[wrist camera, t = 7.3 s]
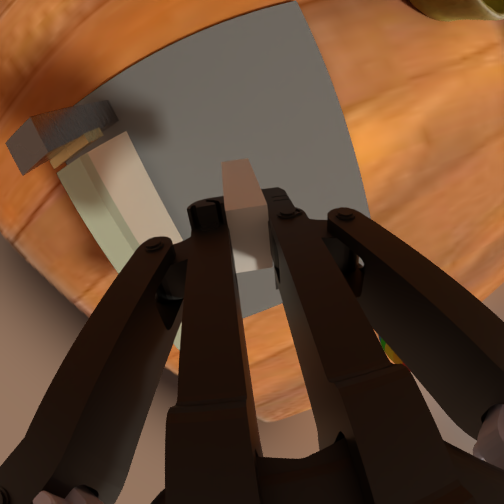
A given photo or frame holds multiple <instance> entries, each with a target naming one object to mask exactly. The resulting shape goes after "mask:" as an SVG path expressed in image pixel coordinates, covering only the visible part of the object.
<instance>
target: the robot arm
mask: <svg viewBox="0 0 504 504" xmlns="http://www.w3.org/2000/svg"><path fill="white" fill-rule="evenodd" d="M221 166H222V181H223V195H224V196H219V197H213V198H207V199H203V200H199V201H196V202H194V203H192V204H191V205H189V206H188V208H187V213H188V217H189V221H190V226H191V237H189V238H188V239H186V240H184V241H181V242H179V243H176V244H173V242H172V240H171V238H168V237H164V236H160V237H152V238H150V239H148V240H147V241H145V242H143V243H142V244H141V245H140V246H139V247H138V248H137V250H136V251H135V252H134V254H133V255H132V256H131V258H130V259H129V260H128V262H127V263H126V265H125V266H124V267H123V269H122V270H121V272H120V273H119V274H118V276H117V277H116V279H115V280H114V281H113V283H112V284H111V286H110V287H109V289H108V290H107V292H106V293H105V295H104V296H103V298H102V299H101V301H100V302H99V304H98V305H97V307H96V308H95V310H94V311H93V313H92V314H91V316H90V318H89V319H88V321H87V322H86V324H85V325H84V327H83V329H82V330H81V332H80V333H79V335H78V337H77V338H76V340H75V342H74V343H73V345H72V347H71V348H70V350H69V352H68V354H67V355H66V357H65V359H64V360H63V362H62V364H61V366H60V368H59V369H58V371H57V373H56V375H55V377H54V379H53V380H52V383H51V384H50V386H49V388H48V390H47V392H46V394H45V396H44V398H43V399H42V401H41V404H40V405H39V408H38V410H37V412H36V414H35V416H34V418H33V420H32V422H31V424H30V426H29V429H28V431H27V433H26V435H25V438H24V439H23V440H22V441H21V442H20V444H19V445H18V446H17V447H16V448H15V449H14V451H13V452H12V453H11V454H10V456H9V457H8V458H7V459H6V460H5V461H4V463H3V464H2V465H1V466H0V504H114V503H115V502H116V500H117V498H118V496H119V494H120V492H121V490H122V488H123V486H124V483H125V480H126V477H127V475H128V472H129V469H130V465H131V462H132V459H133V456H134V453H135V450H136V446H137V444H138V441H139V438H140V435H141V432H142V429H143V426H144V423H145V420H146V417H147V414H148V411H149V408H150V406H151V403H152V400H153V397H154V394H155V391H156V388H157V386H158V383H159V380H160V377H161V375H162V372H163V369H164V367H165V364H166V361H167V359H168V356H169V353H170V351H171V348H172V345H173V343H174V340H175V337H176V335H177V332H178V330H179V327H180V324H181V322H182V326H181V340H180V355H179V374H178V397H177V403H176V405H175V406H173V407H170V409H169V411H168V413H167V420H166V438H165V489H164V490H163V491H161V492H160V493H159V495H158V496H157V497H156V498H155V499H154V500H153V501H152V503H151V504H504V322H503V321H502V320H501V319H500V318H498V316H497V315H495V314H494V313H493V312H492V311H491V310H490V309H489V308H488V307H486V306H485V305H484V304H483V303H482V302H481V301H479V300H478V299H477V298H476V297H475V296H474V295H472V294H471V293H470V292H469V291H468V290H466V289H465V288H464V287H463V286H461V285H460V284H459V283H458V282H457V281H455V280H454V279H453V278H452V277H450V276H449V275H448V274H446V273H445V272H444V271H443V270H441V269H440V268H439V267H437V266H436V265H435V264H433V263H432V262H431V261H430V260H428V259H427V258H426V257H424V256H423V255H421V254H420V253H419V252H417V251H416V250H415V249H413V248H412V247H410V246H409V245H408V244H406V243H405V242H403V241H402V240H401V239H399V238H398V237H396V236H395V235H393V234H392V233H391V232H389V231H388V230H386V229H385V228H383V227H382V226H380V225H379V224H377V223H376V222H374V221H373V220H371V219H370V218H368V217H367V216H365V215H364V214H362V213H361V212H359V211H357V210H354V209H350V208H348V207H345V208H344V207H340V208H336V209H333V210H330V211H329V212H328V213H327V220H316V219H309V218H308V216H307V214H306V213H305V212H304V211H303V210H302V209H300V208H297V207H295V206H294V205H293V203H292V201H291V200H290V198H289V196H288V195H287V193H286V191H285V190H283V189H281V188H279V187H274V188H267V189H261V188H260V186H259V183H258V181H257V178H256V176H255V174H254V171H253V169H252V166H251V164H250V162H249V159H248V158H246V159H239V160H232V161H226V162H221ZM359 257H360V258H361V259H362V261H363V263H364V266H362V265H361V264H360V263H359ZM272 259H273V262H272ZM273 263H274V272H275V285H276V290H278V289H279V291H280V295H281V298H282V302H283V305H284V309H285V312H286V316H287V320H288V323H289V327H290V330H291V334H292V337H293V341H294V345H295V348H296V352H297V355H298V359H299V363H300V366H301V370H302V374H303V377H304V381H305V385H306V388H307V392H308V396H309V399H310V403H311V407H312V410H313V414H314V418H315V422H316V426H317V431H318V441H319V449H320V451H318V452H316V453H314V454H312V455H310V456H308V457H306V458H301V459H286V458H269V457H263V453H262V448H261V443H260V437H259V432H258V424H257V417H256V411H255V404H254V397H253V390H252V384H251V377H250V370H249V363H248V355H247V348H246V341H245V334H244V326H243V319H242V311H241V304H240V296H239V288H238V280H237V275H236V273H240V272H247V271H253V270H259V269H266V268H272V267H273ZM373 329H374V330H375V331H376V332H377V333H378V335H379V336H380V337H381V338H382V339H383V340H384V341H385V342H386V344H387V345H388V346H389V347H390V348H391V349H392V350H393V351H394V353H395V354H396V355H397V356H398V357H399V358H400V359H401V361H402V362H403V363H404V364H405V365H406V366H407V367H408V368H407V367H406V366H404V365H403V364H401V363H400V364H393V363H391V362H390V361H389V359H388V358H387V356H386V354H385V352H384V350H383V348H382V346H381V344H380V342H379V340H378V338H377V336H376V334H375V332H374V330H373ZM409 370H410V371H411V372H412V373H413V374H414V376H415V377H416V378H417V379H418V380H419V381H420V382H421V384H422V385H423V386H424V387H425V388H426V390H427V391H428V392H429V393H430V394H431V396H432V397H433V398H434V399H435V400H436V402H437V403H438V404H439V405H440V406H441V408H442V409H443V410H444V411H445V412H446V414H447V415H448V416H449V417H450V418H451V419H452V420H453V421H454V422H455V423H456V425H457V426H459V427H460V428H461V429H462V430H463V431H464V432H465V433H467V434H468V435H469V436H471V437H472V438H474V439H476V440H477V443H476V444H475V445H474V448H473V455H474V456H473V455H471V454H469V453H467V452H465V451H463V450H461V449H459V448H457V447H455V446H453V445H451V444H449V443H447V442H446V441H444V440H443V439H442V437H441V435H440V432H439V430H438V428H437V425H436V423H435V421H434V419H433V417H432V415H431V412H430V410H429V408H428V406H427V404H426V402H425V400H424V398H423V396H422V393H421V391H420V390H419V387H418V385H417V383H416V381H415V379H414V377H413V375H412V374H411V372H410V371H409ZM484 459H485V460H486V461H487V462H485V461H484Z"/></svg>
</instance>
